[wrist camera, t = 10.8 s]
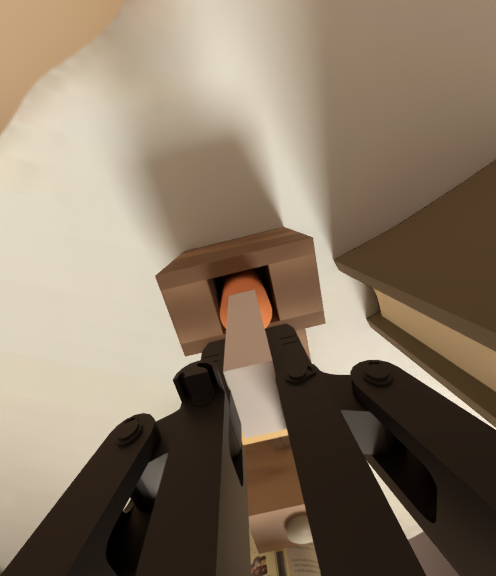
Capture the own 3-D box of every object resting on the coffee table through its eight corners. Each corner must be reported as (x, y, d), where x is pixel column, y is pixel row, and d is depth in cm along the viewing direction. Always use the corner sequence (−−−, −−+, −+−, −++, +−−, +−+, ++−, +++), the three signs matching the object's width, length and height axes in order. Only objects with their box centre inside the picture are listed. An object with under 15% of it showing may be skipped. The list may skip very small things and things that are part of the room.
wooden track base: (324, 448, 33) (358, 540, 24) (252, 464, 33) (259, 562, 24) (284, 227, 23) (316, 238, 14) (183, 251, 24) (152, 278, 14)
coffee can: (297, 521, 37) (332, 696, 24) (232, 513, 36) (232, 693, 23) (322, 475, 34) (378, 645, 21) (253, 464, 33) (266, 638, 20)
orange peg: (229, 304, 20) (227, 342, 14) (219, 270, 19) (213, 296, 13) (264, 295, 20) (276, 330, 14) (256, 261, 19) (266, 283, 13)
